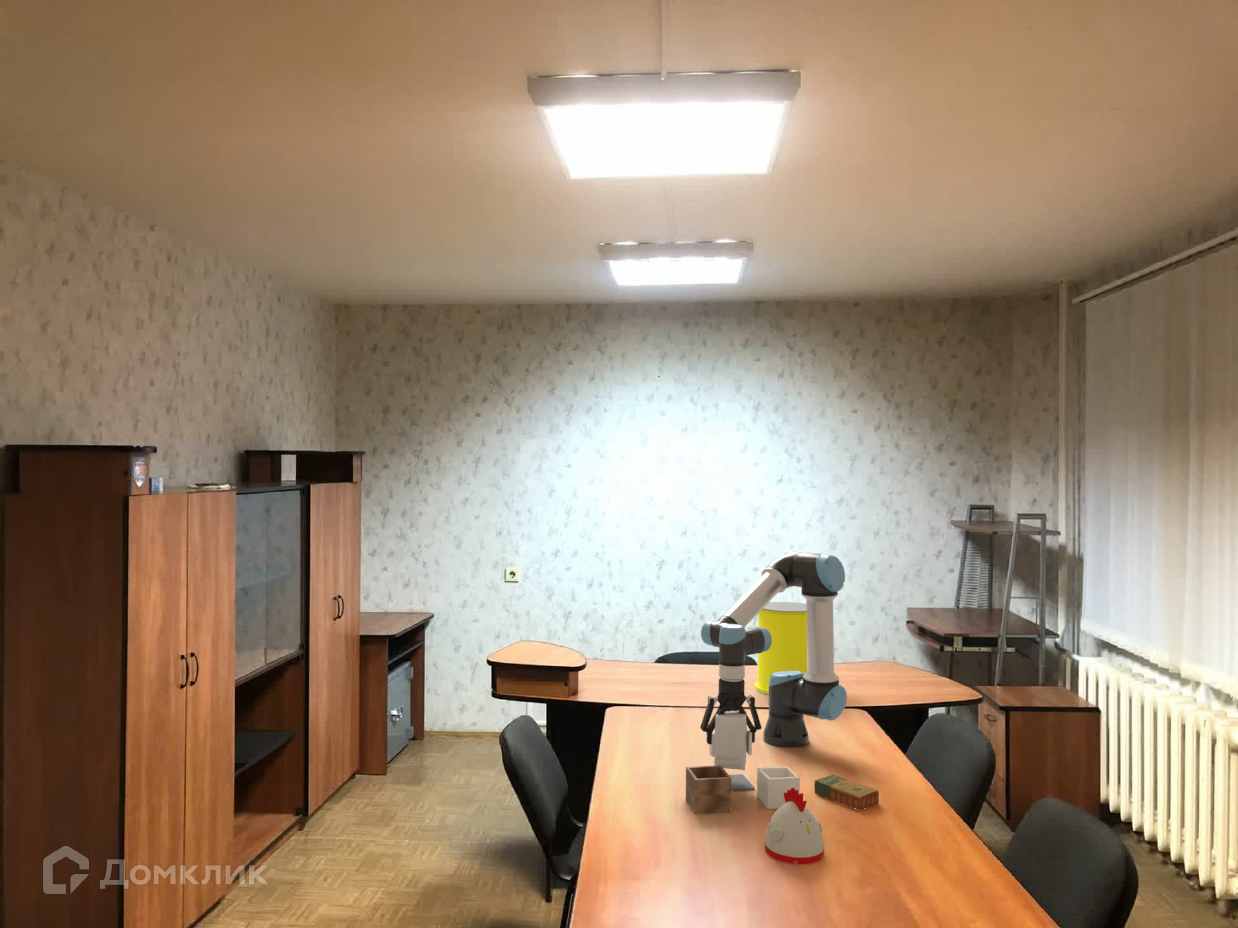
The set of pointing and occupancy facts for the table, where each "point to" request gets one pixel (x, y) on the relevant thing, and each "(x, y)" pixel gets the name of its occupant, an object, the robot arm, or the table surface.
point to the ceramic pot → (775, 785)
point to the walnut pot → (708, 789)
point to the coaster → (740, 783)
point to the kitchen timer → (794, 832)
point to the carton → (847, 792)
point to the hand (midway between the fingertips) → (730, 754)
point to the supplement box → (730, 740)
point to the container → (782, 641)
